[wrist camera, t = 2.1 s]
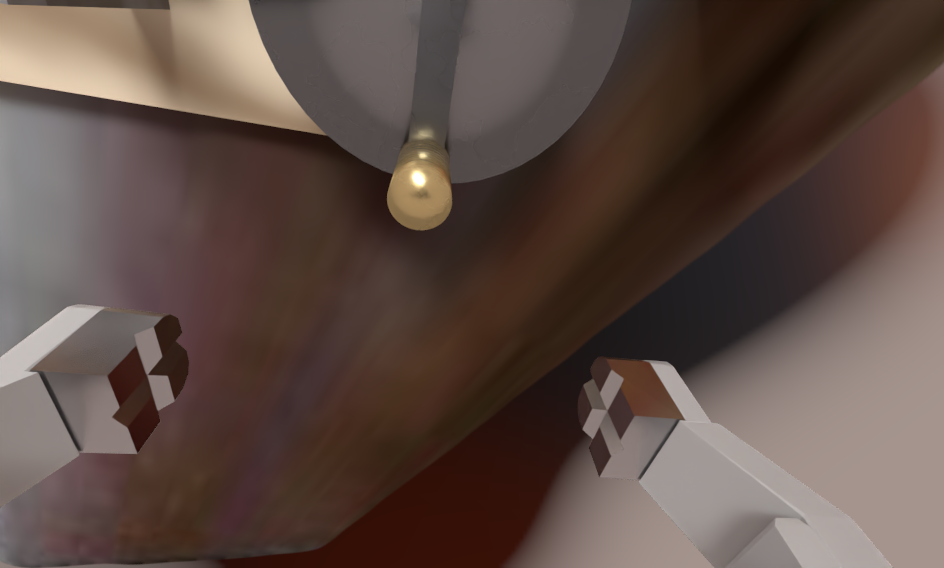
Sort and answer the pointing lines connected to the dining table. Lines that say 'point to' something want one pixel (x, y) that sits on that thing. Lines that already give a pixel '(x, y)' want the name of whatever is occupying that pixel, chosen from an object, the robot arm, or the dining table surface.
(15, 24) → the base board
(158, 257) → the dining table surface
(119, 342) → the robot arm
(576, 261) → the dining table surface
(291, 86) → the handwheel
